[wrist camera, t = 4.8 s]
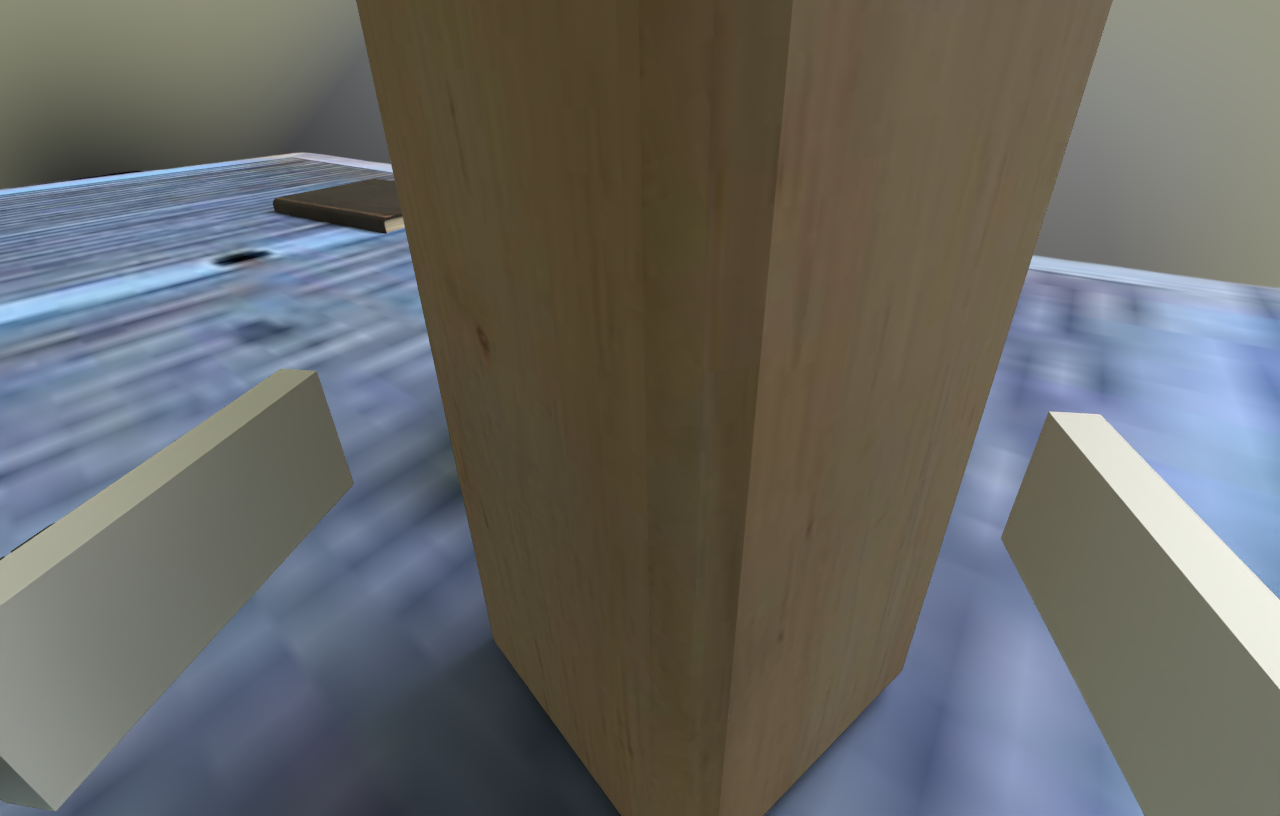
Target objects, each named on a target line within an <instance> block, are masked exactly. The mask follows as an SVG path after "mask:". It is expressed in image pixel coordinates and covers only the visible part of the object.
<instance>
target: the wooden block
mask: <svg viewBox="0 0 1280 816" xmlns="http://www.w3.org/2000/svg"><path fill="white" fill-rule="evenodd" d="M356 1H357V6H358V11H359V16H360V21H361V25H362V30H363V34H364V39H365V43H366V49H367V53H368V58H369V62H370V67H371V72H372V76H373V81H374V86H375V90H376V95H377V100H378V104H379V109H380V113H381V118H382V123H383V128H384V132H385V137H386V141H387V146H388V151H389V156H390V160H391V165H392V169H393V174H394V179H395V183H396V188H397V193H398V197H399V202H400V207H401V211H402V216H403V221H404V225H405V230H406V235H407V239H408V244H409V249H410V253H411V258H412V263H413V267H414V272H415V276H416V281H417V286H418V290H419V295H420V300H421V304H422V309H423V314H424V318H425V323H426V328H427V332H428V337H429V342H430V346H431V351H432V356H433V360H434V365H435V370H436V374H437V379H438V383H439V388H440V393H441V397H442V402H443V407H444V411H445V416H446V421H447V425H448V430H449V435H450V439H451V444H452V449H453V453H454V458H455V463H456V467H457V472H458V477H459V481H460V486H461V490H462V495H463V500H464V504H465V509H466V514H467V518H468V523H469V528H470V532H471V537H472V542H473V546H474V551H475V556H476V560H477V565H478V570H479V574H480V579H481V584H482V588H483V593H484V597H485V602H486V607H487V611H488V616H489V621H490V625H491V630H492V635H493V639H494V641H495V643H496V644H497V645H498V647H499V648H500V649H501V651H502V652H503V654H504V655H505V656H506V658H507V659H508V660H509V662H510V663H511V665H512V666H513V667H514V669H515V670H516V671H517V673H518V674H519V676H520V677H521V678H522V680H523V681H524V682H525V684H526V685H527V687H528V688H529V689H530V691H531V692H532V694H533V695H534V696H535V698H536V699H537V700H538V702H539V703H540V705H541V706H542V707H543V709H544V710H545V711H546V713H547V714H548V716H549V717H550V718H551V720H552V721H553V722H554V724H555V725H556V727H557V728H558V729H559V731H560V732H561V733H562V735H563V736H564V738H565V739H566V740H567V742H568V743H569V745H570V746H571V747H572V749H573V750H574V751H575V753H576V754H577V756H578V757H579V758H580V760H581V761H582V762H583V764H584V765H585V767H586V768H587V769H588V771H589V772H590V773H591V775H592V776H593V778H594V779H595V780H596V782H597V783H598V784H599V786H600V787H601V789H602V790H603V791H604V793H605V794H606V795H607V797H608V798H609V800H610V801H611V802H612V804H613V805H614V807H615V808H616V809H617V811H618V812H619V813H620V815H621V816H763V815H764V814H765V813H766V812H767V811H768V810H769V809H770V808H771V807H772V806H773V805H774V804H775V803H776V802H777V801H778V800H779V799H780V798H781V797H782V796H783V795H784V794H785V792H786V791H787V790H788V789H789V788H790V787H791V786H792V785H793V784H794V783H795V782H796V781H797V780H798V779H799V778H800V777H801V776H802V775H803V774H804V773H805V772H806V771H807V769H808V768H809V767H810V766H811V765H812V764H813V763H814V762H815V761H816V760H817V759H818V758H819V757H820V756H821V755H822V754H823V753H824V752H825V751H826V750H827V749H828V747H829V746H830V745H831V744H832V743H833V742H834V741H835V740H836V739H837V738H838V737H839V736H840V735H841V734H842V733H843V732H844V731H845V730H846V729H847V728H848V727H849V726H850V724H851V723H852V722H853V721H854V720H855V719H856V718H857V717H858V716H859V715H860V714H861V713H862V712H863V711H864V710H865V709H866V708H867V707H868V706H869V705H870V704H871V702H872V701H873V700H874V699H875V698H876V697H877V696H878V695H879V694H880V693H881V692H882V691H883V690H884V689H885V688H886V687H887V686H888V685H889V684H890V683H891V682H892V681H893V679H894V678H895V677H896V676H897V675H898V674H899V673H900V672H901V671H902V669H903V666H904V663H905V659H906V656H907V653H908V650H909V647H910V643H911V640H912V637H913V634H914V631H915V628H916V624H917V621H918V618H919V615H920V612H921V608H922V605H923V602H924V599H925V596H926V593H927V589H928V586H929V583H930V580H931V577H932V573H933V570H934V567H935V564H936V561H937V558H938V554H939V551H940V548H941V545H942V542H943V538H944V535H945V532H946V529H947V526H948V523H949V519H950V516H951V513H952V510H953V507H954V503H955V500H956V497H957V494H958V491H959V488H960V484H961V481H962V478H963V475H964V472H965V469H966V465H967V462H968V459H969V456H970V453H971V449H972V446H973V443H974V440H975V437H976V434H977V430H978V427H979V424H980V421H981V418H982V414H983V411H984V408H985V405H986V402H987V399H988V395H989V392H990V389H991V386H992V383H993V379H994V376H995V373H996V370H997V367H998V364H999V360H1000V357H1001V354H1002V351H1003V348H1004V344H1005V341H1006V338H1007V335H1008V332H1009V329H1010V325H1011V322H1012V319H1013V316H1014V313H1015V309H1016V306H1017V303H1018V300H1019V297H1020V294H1021V290H1022V287H1023V284H1024V281H1025V278H1026V275H1027V271H1028V268H1029V265H1030V262H1031V259H1032V255H1033V252H1034V249H1035V246H1036V243H1037V239H1038V236H1039V233H1040V230H1041V226H1042V224H1043V220H1044V217H1045V214H1046V211H1047V208H1048V205H1049V201H1050V198H1051V195H1052V192H1053V189H1054V185H1055V182H1056V179H1057V176H1058V172H1059V170H1060V166H1061V163H1062V160H1063V157H1064V154H1065V150H1066V147H1067V144H1068V141H1069V138H1070V135H1071V131H1072V128H1073V125H1074V122H1075V118H1076V115H1077V112H1078V109H1079V106H1080V103H1081V99H1082V96H1083V93H1084V90H1085V87H1086V83H1087V81H1088V77H1089V74H1090V71H1091V68H1092V65H1093V61H1094V58H1095V55H1096V52H1097V49H1098V46H1099V42H1100V39H1101V36H1102V33H1103V30H1104V26H1105V23H1106V20H1107V17H1108V14H1109V10H1110V7H1111V4H1112V1H1113V0H356Z"/></svg>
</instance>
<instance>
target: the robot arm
mask: <svg viewBox="0 0 1280 816" xmlns="http://www.w3.org/2000/svg"><path fill="white" fill-rule="evenodd" d="M353 484H354V483H353V480H352V477H351V474H350V471H349V468H348V465H347V462H346V459H345V456H344V453H343V450H342V447H341V443H340V440H339V437H338V434H337V431H336V428H335V425H334V422H333V419H332V416H331V413H330V410H329V407H328V404H327V401H326V398H325V395H324V392H323V389H322V386H321V383H320V380H319V377H318V374H317V371H309V370H291V369H280V370H279V371H277V372H276V373H274V374H273V375H271V376H270V377H268V378H267V379H265V380H264V381H263V382H261V383H260V384H258V385H257V386H255V387H254V388H252V389H251V390H249V391H248V392H246V393H245V394H243V395H242V396H241V397H239V398H238V399H236V400H235V401H233V402H232V403H230V404H229V405H227V406H226V407H224V408H223V409H221V410H220V411H219V412H217V413H216V414H214V415H213V416H211V417H210V418H208V419H207V420H205V421H204V422H202V423H201V424H199V425H198V426H197V427H195V428H194V429H192V430H191V431H189V432H188V433H186V434H185V435H183V436H182V437H180V438H179V439H177V440H176V441H175V442H173V443H172V444H170V445H169V446H167V447H166V448H164V449H163V450H161V451H160V452H158V453H157V454H155V455H154V456H153V457H151V458H150V459H148V460H147V461H145V462H144V463H142V464H141V465H139V466H138V467H136V468H135V469H133V470H132V471H131V472H129V473H128V474H126V475H125V476H123V477H122V478H120V479H119V480H117V481H116V482H114V483H113V484H111V485H110V486H109V487H107V488H106V489H104V490H103V491H101V492H100V493H98V494H97V495H95V496H94V497H92V498H91V499H89V500H88V501H87V502H85V503H84V504H82V505H81V506H79V507H78V508H76V509H75V510H73V511H72V512H70V513H69V514H67V515H66V516H65V517H63V518H62V519H60V520H59V521H57V522H55V523H53V524H51V525H49V526H48V527H46V528H45V529H43V530H42V531H40V532H39V533H37V534H36V535H34V536H33V537H31V538H30V539H28V540H27V541H25V542H24V543H23V544H21V545H20V546H18V547H17V548H15V549H14V550H12V551H11V553H10V554H9V555H7V556H6V557H4V556H3V557H2V558H0V799H1V800H2V801H3V802H6V803H11V804H17V805H22V806H28V807H33V808H39V809H44V810H50V811H55V812H56V811H57V810H58V809H59V808H60V806H61V805H62V804H63V803H64V802H65V801H66V800H67V799H68V798H69V797H70V795H71V794H72V793H73V792H74V791H75V790H76V789H77V788H78V787H79V786H80V784H81V783H82V782H83V781H84V780H85V779H86V778H87V777H88V776H89V775H90V773H91V772H92V771H93V770H94V769H95V768H96V767H97V766H98V765H99V764H100V762H101V761H102V760H103V759H104V758H105V757H106V756H107V755H108V754H109V753H110V751H111V750H112V749H113V748H114V747H115V746H116V745H117V744H118V743H119V742H120V740H121V739H122V738H123V737H124V736H125V735H126V734H127V733H128V732H129V731H130V729H131V728H132V727H133V726H134V725H135V724H136V723H137V722H138V721H139V720H140V718H141V717H142V716H143V715H144V714H145V713H146V712H147V711H148V710H149V709H150V707H151V706H152V705H153V704H154V703H155V702H156V701H157V700H158V699H159V698H160V696H161V695H162V694H163V693H164V692H165V691H166V690H167V689H168V688H169V687H170V685H171V684H172V683H173V682H174V681H175V680H176V679H177V678H178V677H179V676H180V675H181V673H182V672H183V671H184V670H185V669H186V668H187V667H188V666H189V665H190V664H191V662H192V661H193V660H194V659H195V658H196V657H197V656H198V655H199V654H200V653H201V651H202V650H203V649H204V648H205V647H206V646H207V645H208V644H209V643H210V642H211V640H212V639H213V638H214V637H215V636H216V635H217V634H218V633H219V632H220V631H221V629H222V628H223V627H224V626H225V625H226V624H227V623H228V622H229V621H230V620H231V618H232V617H233V616H234V615H235V614H236V613H237V612H238V611H239V610H240V609H241V607H242V606H243V605H244V604H245V603H246V602H247V601H248V600H249V599H250V598H251V596H252V595H253V594H254V593H255V592H256V591H257V590H258V589H259V588H260V587H261V585H262V584H263V583H264V582H265V581H266V580H267V579H268V578H269V577H270V576H271V574H272V573H273V572H274V571H275V570H276V569H277V568H278V567H279V566H280V565H281V563H282V562H283V561H284V560H285V559H286V558H287V557H288V556H289V555H290V554H291V552H292V551H293V550H294V549H295V548H296V547H297V546H298V545H299V544H300V543H301V541H302V540H303V539H304V538H305V537H306V536H307V535H308V534H309V533H310V532H311V530H312V529H313V528H314V527H315V526H316V525H317V524H318V523H319V522H320V521H321V519H322V518H323V517H324V516H325V515H326V514H327V513H328V512H329V511H330V510H331V508H332V507H333V506H334V505H335V504H336V503H337V502H338V501H339V500H340V499H341V497H342V496H343V495H344V494H345V493H346V492H347V491H348V490H349V489H350V488H351V486H352V485H353ZM1001 539H1002V541H1003V543H1004V545H1005V547H1006V549H1007V551H1008V553H1009V555H1010V557H1011V559H1012V561H1013V563H1014V565H1015V566H1016V568H1017V570H1018V572H1019V574H1020V576H1021V578H1022V580H1023V582H1024V584H1025V586H1026V588H1027V590H1028V592H1029V594H1030V595H1031V597H1032V599H1033V601H1034V603H1035V605H1036V607H1037V609H1038V611H1039V613H1040V615H1041V617H1042V619H1043V621H1044V622H1045V624H1046V626H1047V628H1048V630H1049V632H1050V634H1051V636H1052V638H1053V640H1054V642H1055V644H1056V646H1057V648H1058V649H1059V651H1060V653H1061V655H1062V657H1063V659H1064V661H1065V663H1066V665H1067V667H1068V669H1069V671H1070V673H1071V675H1072V677H1073V678H1074V680H1075V682H1076V684H1077V686H1078V688H1079V690H1080V692H1081V694H1082V696H1083V698H1084V700H1085V702H1086V704H1087V705H1088V707H1089V709H1090V711H1091V713H1092V715H1093V717H1094V719H1095V721H1096V723H1097V725H1098V727H1099V729H1100V731H1101V732H1102V734H1103V736H1104V738H1105V740H1106V742H1107V744H1108V746H1109V748H1110V750H1111V752H1112V754H1113V756H1114V758H1115V760H1116V761H1117V763H1118V765H1119V767H1120V769H1121V771H1122V773H1123V775H1124V777H1125V779H1126V781H1127V783H1128V785H1129V787H1130V788H1131V790H1132V792H1133V794H1134V796H1135V798H1136V800H1137V802H1138V804H1139V806H1140V808H1141V810H1142V812H1143V814H1144V815H1145V816H1280V600H1279V599H1278V598H1277V597H1276V596H1275V595H1274V594H1273V593H1272V592H1271V591H1270V590H1269V589H1268V588H1267V587H1266V585H1265V584H1264V583H1263V582H1262V581H1261V580H1260V579H1259V578H1258V577H1257V576H1256V575H1255V574H1254V573H1253V572H1252V571H1251V570H1250V569H1249V568H1248V567H1247V566H1246V565H1245V564H1244V563H1243V562H1242V561H1241V560H1240V559H1239V558H1238V557H1237V555H1236V554H1235V553H1234V552H1233V551H1232V550H1231V549H1230V548H1229V547H1228V546H1227V545H1226V544H1225V543H1224V542H1223V541H1222V540H1221V539H1220V538H1219V537H1218V536H1217V535H1216V534H1215V533H1214V532H1213V531H1212V530H1211V529H1210V528H1209V527H1208V525H1207V524H1206V523H1205V522H1204V521H1203V520H1202V519H1201V518H1200V517H1199V516H1198V515H1197V514H1196V513H1195V512H1194V511H1193V510H1192V509H1191V508H1190V507H1189V506H1188V505H1187V504H1186V503H1185V502H1184V501H1183V500H1182V499H1181V498H1180V497H1179V496H1178V494H1177V493H1176V492H1175V491H1174V490H1173V489H1172V488H1171V487H1170V486H1169V485H1168V484H1167V483H1166V482H1165V481H1164V480H1163V479H1162V478H1161V477H1160V476H1159V475H1158V474H1157V473H1156V472H1155V471H1154V470H1153V469H1152V468H1151V467H1150V466H1149V464H1148V463H1147V462H1146V461H1145V460H1144V459H1143V458H1142V457H1141V456H1140V455H1139V454H1138V453H1137V452H1136V451H1135V450H1134V449H1133V448H1132V447H1131V446H1130V445H1129V444H1128V443H1127V442H1126V441H1125V440H1124V439H1123V438H1122V437H1121V436H1120V434H1119V433H1118V432H1117V431H1116V430H1115V429H1114V428H1113V427H1112V426H1111V425H1110V424H1109V423H1108V422H1107V421H1106V420H1105V419H1104V418H1103V417H1102V416H1101V415H1100V414H1083V413H1065V412H1048V415H1047V418H1046V420H1045V423H1044V425H1043V428H1042V431H1041V433H1040V436H1039V439H1038V441H1037V444H1036V447H1035V449H1034V452H1033V455H1032V457H1031V460H1030V463H1029V465H1028V468H1027V470H1026V473H1025V476H1024V478H1023V481H1022V484H1021V486H1020V489H1019V492H1018V494H1017V497H1016V500H1015V502H1014V505H1013V508H1012V510H1011V513H1010V516H1009V518H1008V521H1007V523H1006V526H1005V529H1004V531H1003V534H1002V537H1001Z"/></svg>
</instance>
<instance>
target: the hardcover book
mask: <svg viewBox="0 0 1280 816" xmlns="http://www.w3.org/2000/svg"><path fill="white" fill-rule="evenodd" d="M273 206H274V209H275V212H277V213H282V214H287V215H292V216H297V217H303V218H308V219H313V220H318V221H323V222H329V223H334V224H339V225H344V226H350V227H355V228H360V229H365V230H370V231H376V232H381V233H387V232H390V231H394V230H398V229H402V228H405V225H404V221H403V216H402V211H401V207H400V202H399V197H398V193H397V188H396V183H395V181H387V180H379V179H372V180H367V181H362V182H357V183H351V184H346V185H341V186H336V187H331V188H325V189H320V190H315V191H310V192H305V193H300V194H294V195H289V196H284V197H279V198H275V199H274V201H273Z"/></svg>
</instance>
